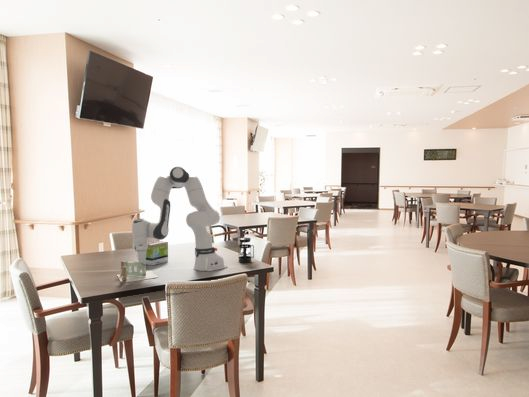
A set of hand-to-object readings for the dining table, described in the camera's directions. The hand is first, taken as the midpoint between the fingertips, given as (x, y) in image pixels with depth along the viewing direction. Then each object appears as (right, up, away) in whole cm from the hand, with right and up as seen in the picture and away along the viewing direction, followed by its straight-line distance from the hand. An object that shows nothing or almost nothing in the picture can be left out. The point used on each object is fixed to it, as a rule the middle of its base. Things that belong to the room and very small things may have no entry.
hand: (141, 267), depth 231 cm
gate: (-2, -5, -2) cm, 6 cm away
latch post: (-6, -6, -13) cm, 15 cm away
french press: (+64, -3, +35) cm, 73 cm away
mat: (-2, -6, -1) cm, 6 cm away
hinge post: (-12, -6, +1) cm, 13 cm away
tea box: (-1, -4, +35) cm, 35 cm away
